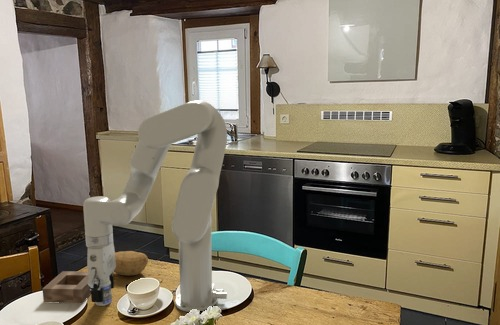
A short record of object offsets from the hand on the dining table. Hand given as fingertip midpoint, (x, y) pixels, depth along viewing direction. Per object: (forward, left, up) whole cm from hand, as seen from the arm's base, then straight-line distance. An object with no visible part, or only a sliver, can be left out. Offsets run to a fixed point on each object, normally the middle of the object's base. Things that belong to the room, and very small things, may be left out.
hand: (103, 294), depth 119 cm
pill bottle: (0, 0, -3) cm, 3 cm away
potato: (-1, -19, -3) cm, 19 cm away
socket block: (+12, -5, -2) cm, 13 cm away
